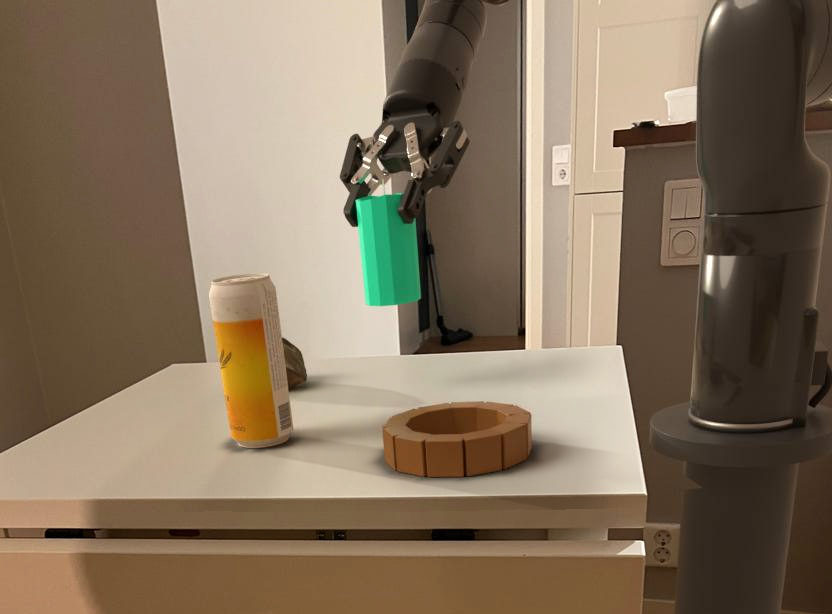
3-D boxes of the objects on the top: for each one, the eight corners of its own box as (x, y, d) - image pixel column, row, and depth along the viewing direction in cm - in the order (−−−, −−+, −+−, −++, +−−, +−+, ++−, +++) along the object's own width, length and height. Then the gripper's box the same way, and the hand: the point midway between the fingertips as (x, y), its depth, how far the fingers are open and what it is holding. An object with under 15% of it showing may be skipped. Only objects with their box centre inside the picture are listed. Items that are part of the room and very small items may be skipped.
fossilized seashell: (220, 365, 116) (245, 393, 108) (243, 314, 114) (269, 339, 106) (272, 387, 120) (300, 415, 113) (295, 338, 118) (325, 364, 110)
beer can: (249, 431, 96) (226, 274, 90) (304, 432, 94) (284, 271, 87) (221, 449, 91) (194, 284, 85) (278, 450, 89) (255, 281, 82)
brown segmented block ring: (536, 432, 86) (536, 399, 85) (522, 476, 76) (521, 439, 74) (403, 435, 90) (400, 403, 88) (371, 478, 79) (368, 442, 78)
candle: (423, 301, 100) (414, 175, 95) (366, 308, 101) (354, 183, 95) (419, 294, 106) (410, 174, 100) (365, 300, 106) (353, 181, 100)
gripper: (356, 66, 102) (303, 199, 99) (475, 45, 94) (421, 189, 91) (388, 120, 108) (338, 247, 105) (502, 104, 100) (452, 241, 97)
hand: (377, 219), depth 98 cm, fingers closed on candle, 6 cm apart
